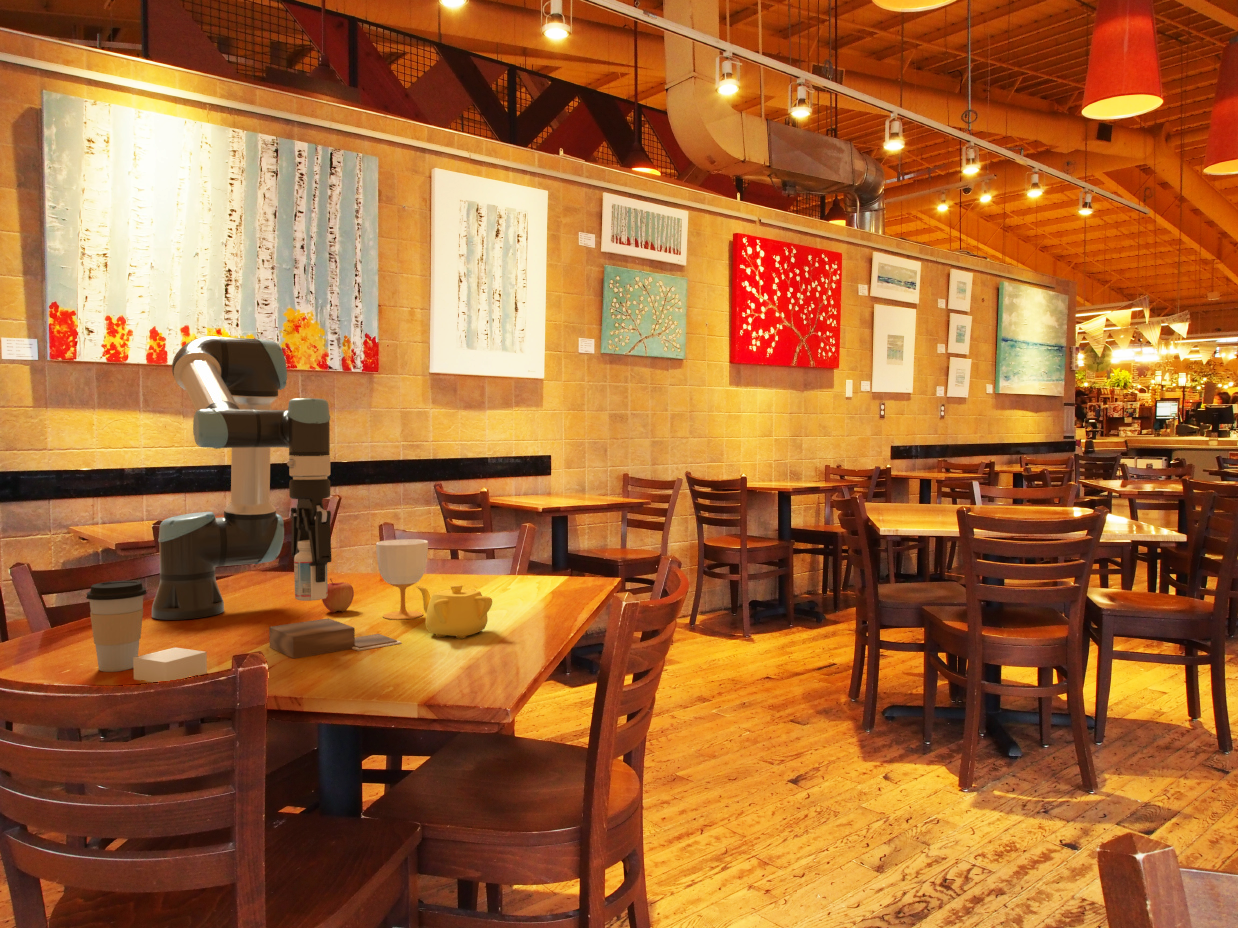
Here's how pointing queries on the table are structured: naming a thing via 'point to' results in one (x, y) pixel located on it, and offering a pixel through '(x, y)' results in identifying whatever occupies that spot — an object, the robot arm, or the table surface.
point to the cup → (402, 568)
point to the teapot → (455, 611)
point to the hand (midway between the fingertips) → (311, 596)
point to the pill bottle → (304, 572)
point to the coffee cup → (116, 622)
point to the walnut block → (311, 637)
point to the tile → (373, 642)
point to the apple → (338, 596)
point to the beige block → (170, 665)
